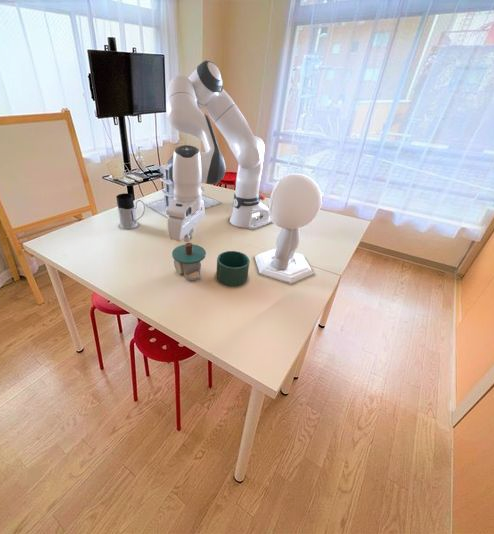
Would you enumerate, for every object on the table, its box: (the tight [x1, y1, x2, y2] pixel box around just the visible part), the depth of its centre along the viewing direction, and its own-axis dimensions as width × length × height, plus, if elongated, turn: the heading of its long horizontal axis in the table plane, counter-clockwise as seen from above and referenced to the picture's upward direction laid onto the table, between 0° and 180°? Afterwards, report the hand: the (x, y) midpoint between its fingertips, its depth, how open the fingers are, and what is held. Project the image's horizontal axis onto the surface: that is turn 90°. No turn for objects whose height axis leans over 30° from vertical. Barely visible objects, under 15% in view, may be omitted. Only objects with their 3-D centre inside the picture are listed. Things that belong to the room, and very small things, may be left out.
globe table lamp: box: [254, 172, 323, 285], centre depth 96 cm, size 20×23×35 cm
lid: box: [171, 242, 207, 264], centre depth 97 cm, size 12×12×5 cm
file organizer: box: [146, 164, 220, 218], centre depth 152 cm, size 26×35×22 cm
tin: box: [215, 250, 251, 288], centre depth 98 cm, size 11×11×8 cm
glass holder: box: [116, 192, 146, 230], centre depth 131 cm, size 9×14×15 cm, turn 74°
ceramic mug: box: [173, 258, 202, 282], centre depth 100 cm, size 11×8×8 cm
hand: (188, 240), depth 94 cm, fingers closed
